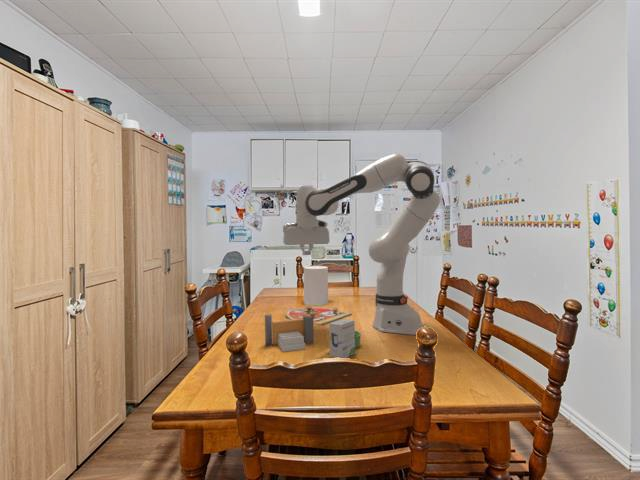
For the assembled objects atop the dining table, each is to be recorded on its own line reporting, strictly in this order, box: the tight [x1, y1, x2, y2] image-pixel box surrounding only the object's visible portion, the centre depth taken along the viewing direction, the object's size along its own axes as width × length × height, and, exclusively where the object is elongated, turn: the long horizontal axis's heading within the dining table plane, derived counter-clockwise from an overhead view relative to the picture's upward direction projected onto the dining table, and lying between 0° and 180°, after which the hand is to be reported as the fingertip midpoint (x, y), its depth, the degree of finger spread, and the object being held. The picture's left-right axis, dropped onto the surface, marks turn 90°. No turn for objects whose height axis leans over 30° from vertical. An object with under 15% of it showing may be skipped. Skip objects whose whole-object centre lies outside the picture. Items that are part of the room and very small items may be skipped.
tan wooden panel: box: [272, 319, 304, 345], centre depth 138 cm, size 14×2×8 cm, turn 110°
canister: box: [303, 265, 329, 307], centre depth 209 cm, size 14×14×20 cm
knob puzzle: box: [285, 305, 353, 326], centre depth 181 cm, size 29×30×4 cm
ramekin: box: [355, 330, 362, 349], centre depth 138 cm, size 9×9×4 cm
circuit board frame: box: [264, 314, 314, 353], centre depth 138 cm, size 20×20×12 cm
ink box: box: [328, 318, 356, 359], centre depth 127 cm, size 9×5×12 cm, turn 141°
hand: (306, 255), depth 162 cm, fingers closed
